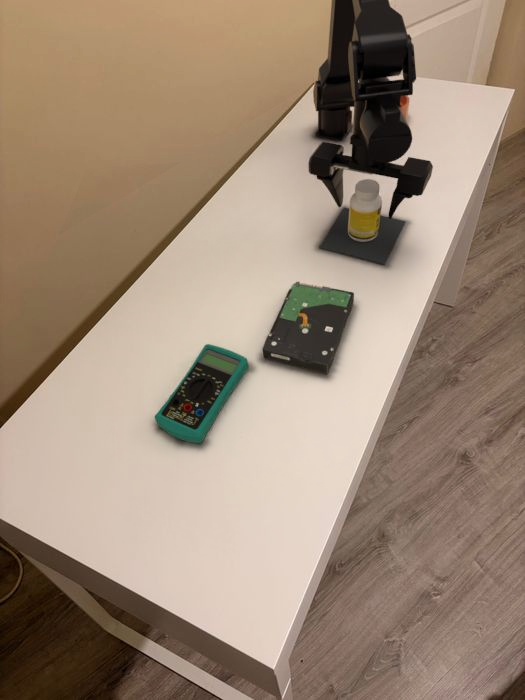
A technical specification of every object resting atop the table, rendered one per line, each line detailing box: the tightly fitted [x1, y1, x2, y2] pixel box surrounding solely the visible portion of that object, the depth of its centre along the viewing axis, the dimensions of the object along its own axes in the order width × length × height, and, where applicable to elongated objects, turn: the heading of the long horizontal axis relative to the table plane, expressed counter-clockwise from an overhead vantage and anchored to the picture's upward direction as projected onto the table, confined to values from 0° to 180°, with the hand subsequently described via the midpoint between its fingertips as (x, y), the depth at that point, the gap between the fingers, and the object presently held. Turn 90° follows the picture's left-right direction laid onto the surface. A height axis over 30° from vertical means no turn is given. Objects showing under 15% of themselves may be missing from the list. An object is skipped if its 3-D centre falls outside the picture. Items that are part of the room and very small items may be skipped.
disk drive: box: [261, 281, 355, 375], centre depth 76 cm, size 10×3×15 cm
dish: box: [400, 95, 410, 121], centre depth 110 cm, size 10×10×4 cm
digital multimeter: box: [154, 343, 250, 444], centre depth 70 cm, size 7×15×3 cm, turn 152°
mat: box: [318, 206, 406, 266], centre depth 89 cm, size 12×12×1 cm
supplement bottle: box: [348, 178, 383, 242], centre depth 85 cm, size 5×5×10 cm
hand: (365, 211), depth 85 cm, fingers open, 9 cm apart
